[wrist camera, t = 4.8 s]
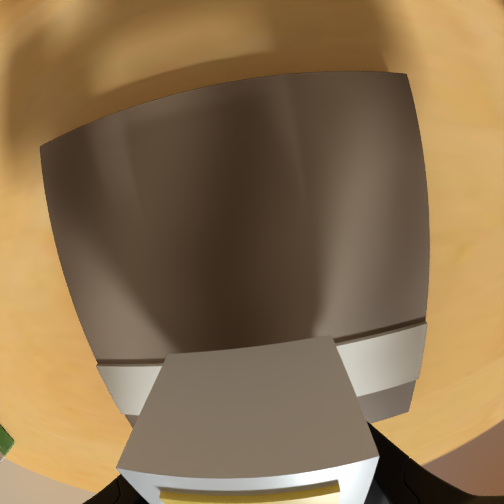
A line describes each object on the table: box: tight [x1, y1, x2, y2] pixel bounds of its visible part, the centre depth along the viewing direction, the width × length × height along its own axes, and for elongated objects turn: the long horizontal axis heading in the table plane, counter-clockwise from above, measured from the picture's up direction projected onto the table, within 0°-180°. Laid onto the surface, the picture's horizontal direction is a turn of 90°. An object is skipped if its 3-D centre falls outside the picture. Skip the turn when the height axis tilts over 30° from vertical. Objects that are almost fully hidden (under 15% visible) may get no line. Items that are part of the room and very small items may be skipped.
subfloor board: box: [40, 71, 430, 428], centre depth 10 cm, size 14×15×1 cm
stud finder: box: [116, 335, 379, 504], centre depth 7 cm, size 5×6×5 cm
